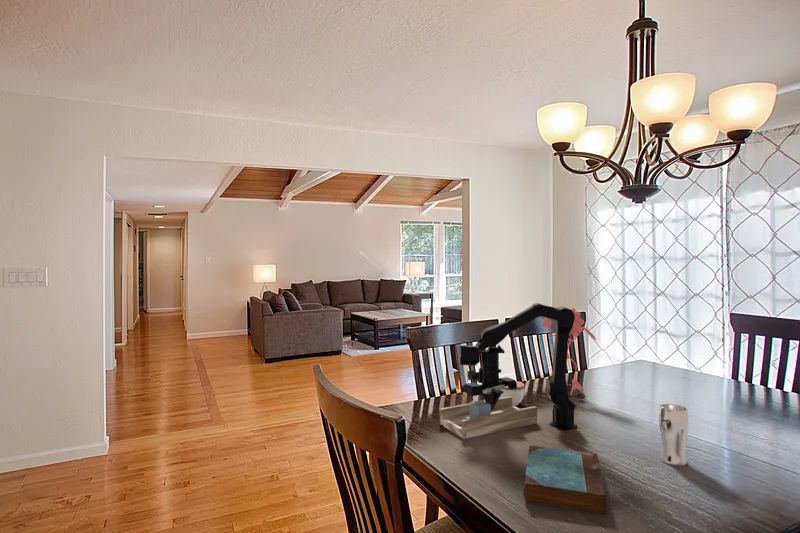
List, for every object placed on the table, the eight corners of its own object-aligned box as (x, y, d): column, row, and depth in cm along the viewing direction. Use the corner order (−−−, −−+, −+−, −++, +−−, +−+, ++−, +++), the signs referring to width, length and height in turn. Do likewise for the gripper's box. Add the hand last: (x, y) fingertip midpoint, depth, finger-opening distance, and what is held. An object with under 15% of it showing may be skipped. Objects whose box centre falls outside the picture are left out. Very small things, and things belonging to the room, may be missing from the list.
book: (606, 517, 103) (606, 494, 102) (523, 504, 108) (523, 483, 108) (597, 471, 124) (597, 453, 124) (528, 463, 130) (528, 445, 130)
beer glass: (661, 454, 134) (661, 401, 134) (690, 460, 130) (690, 406, 129) (656, 462, 129) (656, 407, 128) (686, 469, 124) (686, 413, 124)
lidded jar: (522, 399, 186) (522, 376, 186) (526, 408, 175) (526, 383, 175) (494, 399, 187) (494, 375, 187) (497, 407, 176) (497, 382, 176)
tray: (537, 423, 159) (537, 407, 159) (463, 438, 146) (463, 421, 146) (509, 411, 172) (509, 396, 172) (440, 424, 159) (439, 408, 158)
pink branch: (588, 400, 184) (590, 311, 184) (534, 386, 205) (535, 306, 205) (609, 394, 194) (610, 309, 194) (554, 381, 214) (555, 304, 214)
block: (490, 419, 156) (490, 404, 156) (478, 421, 154) (478, 406, 154) (481, 415, 161) (481, 400, 161) (469, 417, 158) (469, 402, 158)
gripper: (497, 358, 170) (497, 400, 171) (454, 363, 162) (454, 408, 162) (517, 364, 160) (518, 409, 161) (472, 370, 152) (473, 418, 152)
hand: (490, 411), depth 159 cm, fingers closed
